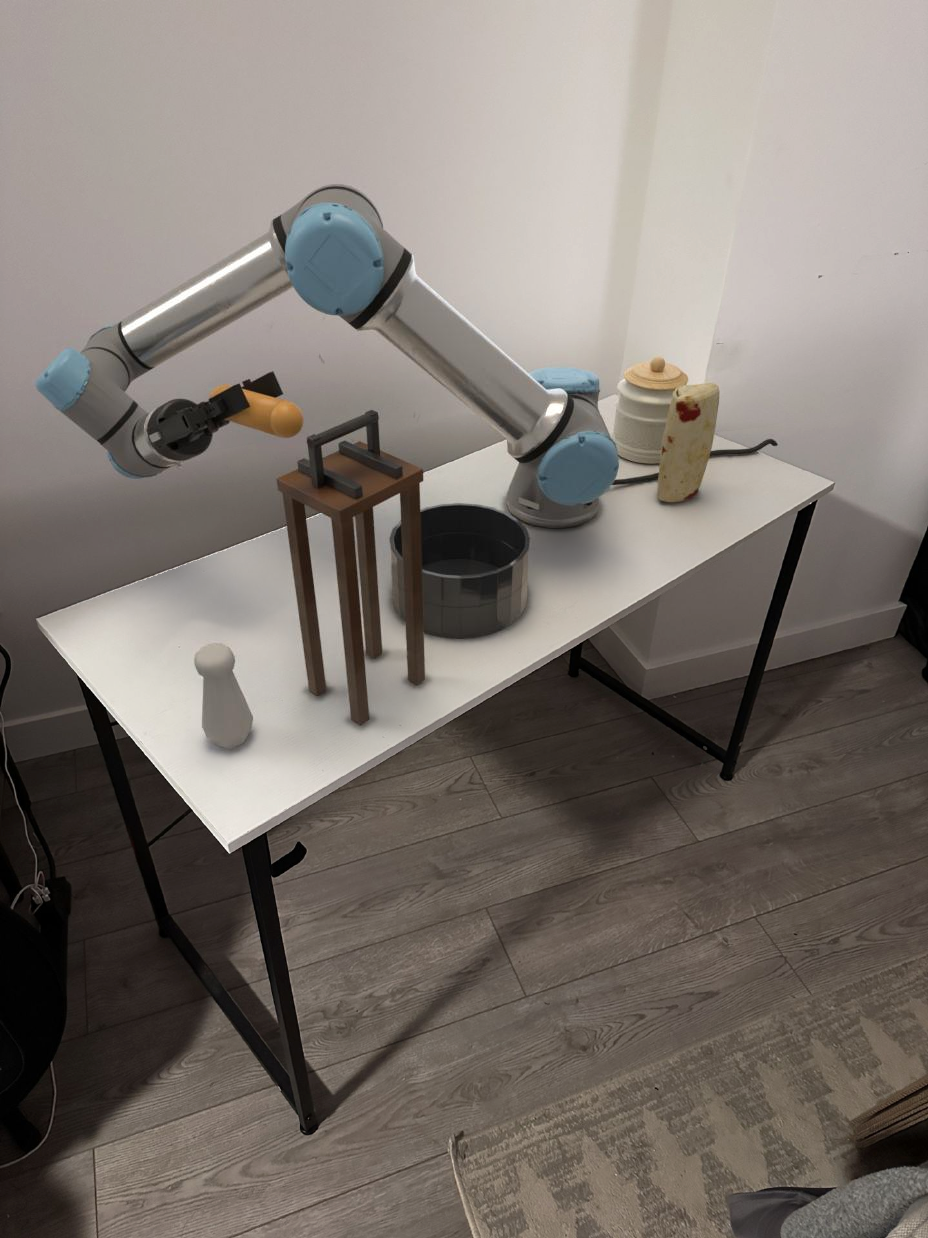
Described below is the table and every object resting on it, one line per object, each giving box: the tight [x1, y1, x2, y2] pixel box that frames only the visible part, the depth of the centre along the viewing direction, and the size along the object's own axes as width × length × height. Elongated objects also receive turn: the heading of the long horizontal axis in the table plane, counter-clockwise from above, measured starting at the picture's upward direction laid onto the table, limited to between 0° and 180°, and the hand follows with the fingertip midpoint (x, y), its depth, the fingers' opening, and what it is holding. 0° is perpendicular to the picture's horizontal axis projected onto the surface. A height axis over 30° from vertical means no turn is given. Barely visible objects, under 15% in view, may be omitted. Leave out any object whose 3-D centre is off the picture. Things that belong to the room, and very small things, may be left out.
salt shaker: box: [193, 642, 254, 750], centre depth 101 cm, size 6×6×13 cm
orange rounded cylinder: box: [208, 384, 305, 439], centre depth 101 cm, size 15×4×4 cm, turn 48°
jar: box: [611, 356, 689, 465], centre depth 160 cm, size 13×13×18 cm
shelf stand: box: [275, 409, 426, 726], centre depth 101 cm, size 10×12×36 cm
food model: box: [657, 382, 720, 503], centre depth 145 cm, size 10×7×20 cm
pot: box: [388, 502, 531, 640], centre depth 124 cm, size 19×19×10 cm
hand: (259, 389), depth 98 cm, fingers closed on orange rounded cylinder, 4 cm apart
